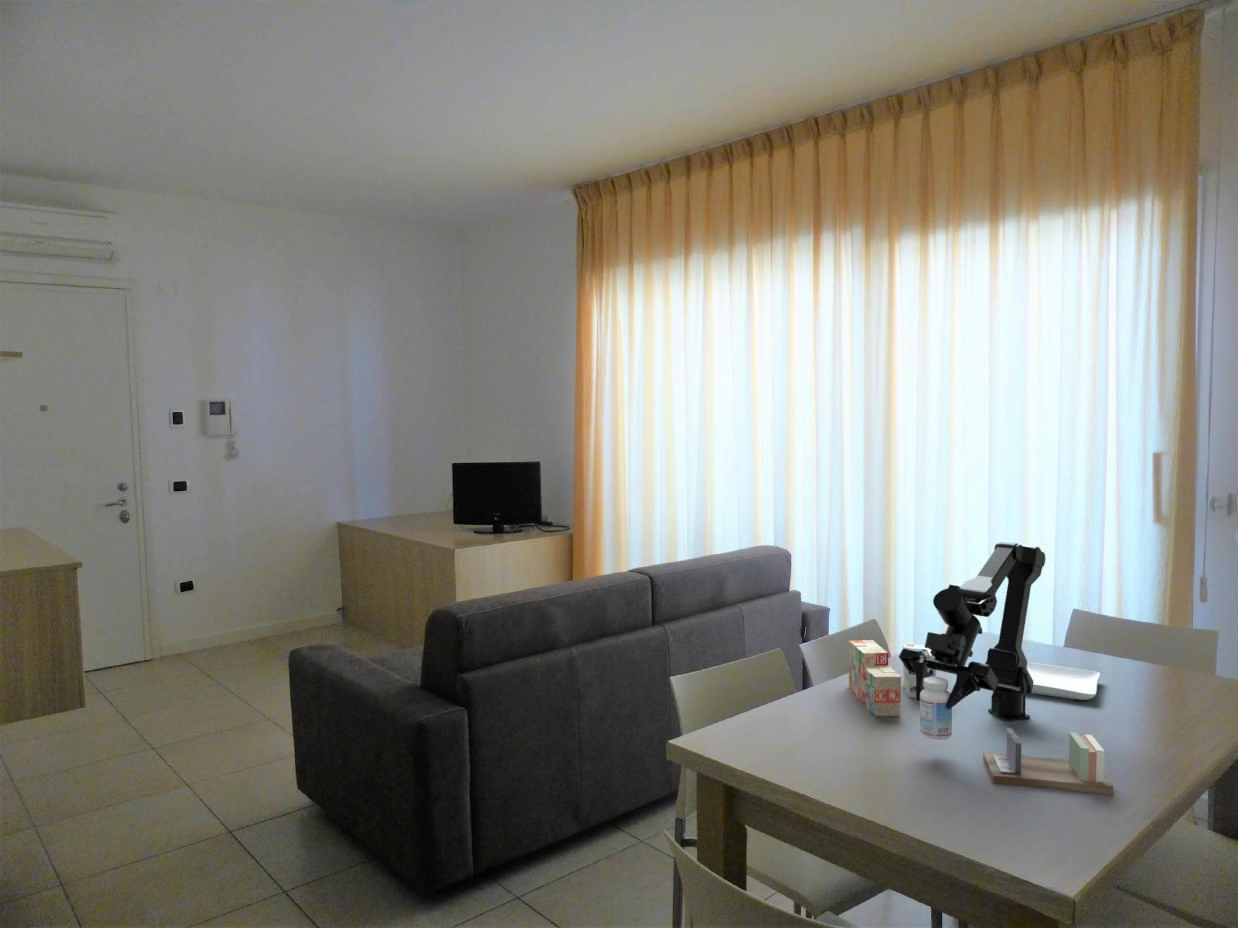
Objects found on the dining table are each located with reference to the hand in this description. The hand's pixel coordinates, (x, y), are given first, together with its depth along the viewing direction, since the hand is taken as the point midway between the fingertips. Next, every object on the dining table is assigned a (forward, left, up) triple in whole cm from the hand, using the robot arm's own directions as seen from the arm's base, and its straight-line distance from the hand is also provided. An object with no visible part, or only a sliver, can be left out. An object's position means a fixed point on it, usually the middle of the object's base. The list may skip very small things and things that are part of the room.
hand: (932, 704), depth 168 cm
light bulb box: (-21, -37, -11) cm, 44 cm away
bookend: (-9, +10, -9) cm, 17 cm away
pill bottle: (-1, -1, -7) cm, 7 cm away
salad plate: (-55, -32, -11) cm, 65 cm away
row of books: (-21, +17, -9) cm, 29 cm away
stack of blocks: (-7, -34, -11) cm, 36 cm away
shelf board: (-15, +13, -11) cm, 23 cm away
